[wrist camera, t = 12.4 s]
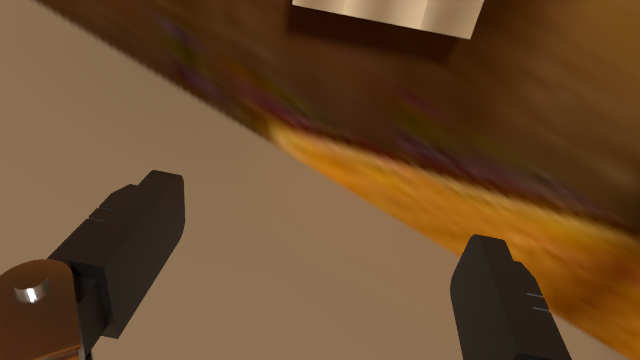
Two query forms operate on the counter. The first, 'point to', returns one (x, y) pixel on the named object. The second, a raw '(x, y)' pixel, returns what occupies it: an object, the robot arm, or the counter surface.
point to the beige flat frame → (409, 13)
